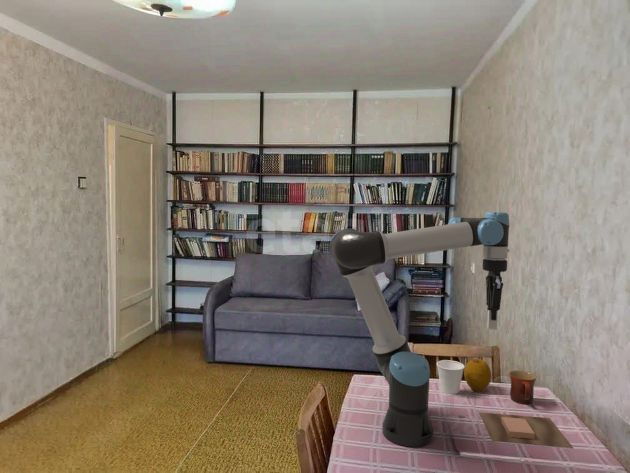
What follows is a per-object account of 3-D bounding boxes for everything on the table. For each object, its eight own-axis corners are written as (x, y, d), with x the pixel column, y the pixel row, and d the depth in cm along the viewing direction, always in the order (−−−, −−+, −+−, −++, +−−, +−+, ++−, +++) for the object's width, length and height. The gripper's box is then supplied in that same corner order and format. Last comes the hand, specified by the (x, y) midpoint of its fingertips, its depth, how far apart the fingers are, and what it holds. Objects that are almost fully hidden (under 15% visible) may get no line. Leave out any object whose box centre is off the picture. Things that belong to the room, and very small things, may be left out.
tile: (501, 422, 138) (509, 437, 129) (501, 416, 138) (509, 431, 129) (524, 424, 137) (534, 439, 128) (524, 418, 137) (534, 433, 128)
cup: (431, 388, 166) (432, 360, 165) (456, 387, 167) (457, 359, 166) (441, 400, 156) (442, 370, 156) (468, 399, 157) (469, 369, 157)
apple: (471, 382, 173) (472, 353, 172) (495, 390, 166) (496, 359, 165) (458, 388, 166) (459, 358, 166) (483, 397, 159) (484, 365, 158)
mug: (505, 396, 160) (506, 369, 159) (531, 399, 158) (532, 371, 158) (513, 411, 148) (514, 382, 148) (541, 414, 147) (542, 384, 146)
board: (492, 444, 127) (492, 440, 127) (478, 415, 145) (478, 412, 145) (573, 452, 124) (573, 448, 124) (549, 421, 142) (549, 418, 142)
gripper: (512, 261, 138) (509, 335, 139) (501, 256, 151) (498, 324, 152) (487, 260, 139) (484, 333, 140) (478, 256, 152) (476, 323, 153)
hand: (492, 328), depth 146 cm, fingers closed
